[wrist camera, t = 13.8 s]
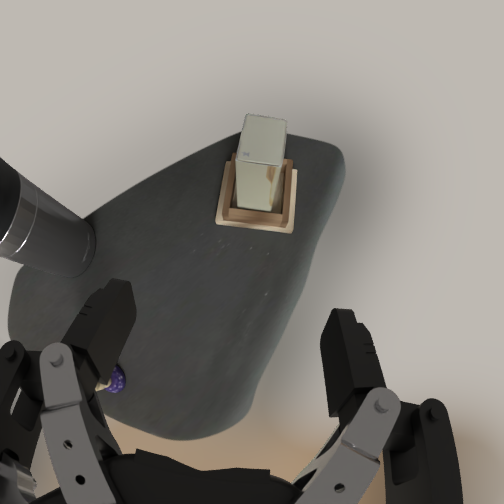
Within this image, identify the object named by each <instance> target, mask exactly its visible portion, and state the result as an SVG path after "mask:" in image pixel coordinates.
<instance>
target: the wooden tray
mask: <svg viewBox="0 0 504 504" xmlns="http://www.w3.org/2000/svg"><path fill="white" fill-rule="evenodd" d="M236 155H237V153H233V154H232V159H231V162H230V161H226V165H225V170H224V176H223V181H222V186H221V192H220V197H219V203H218V209H217V214H216V224H220V225H228V226H237V227H245V228H253V229H261V230H269V231H277V232H285V233H292V231H293V225H294V212H295V197H296V181H297V170H295V169H292V167H293V160H289V159H283V164H282V168H281V171H280V175H279V179H278V184H277V188H276V192H275V196H274V201H273V205H272V209H271V213H267V212H259V211H251V210H242V209H238V208H237V186H236V163H235V159H236Z"/></svg>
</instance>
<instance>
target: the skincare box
mask: <svg viewBox="0 0 504 504" xmlns="http://www.w3.org/2000/svg"><path fill="white" fill-rule="evenodd" d="M286 132H287V120H284V119H278V118H273V117H267V116H261V115H254V114H246V116H245V120H244V124H243V128H242V132H241V136H240V141H239V146H238V150H237V155H236V159H235V163H236V186H237V208H238V209H242V210H251V211H259V212H267V213H271V209H272V205H273V201H274V196H275V192H276V188H277V184H278V179H279V175H280V171H281V168H282V164H283V158H284V152H285V144H286Z"/></svg>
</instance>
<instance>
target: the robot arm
mask: <svg viewBox="0 0 504 504" xmlns="http://www.w3.org/2000/svg"><path fill="white" fill-rule="evenodd" d="M95 246H96V239H95V234H94V231H93V229H92V227H91V226H90V224H89V223H87V222H86V221H85V220H83V219H82V218H80V217H79V216H77V215H76V214H75V213H73V212H72V211H70V210H69V209H67V208H66V207H65V206H63V205H62V204H60V203H59V202H58V201H56V200H55V199H53V198H52V197H51V196H49V195H48V194H46V193H45V192H44V191H42V190H41V189H40V188H38V187H37V186H36V185H34V184H33V183H32V182H30V181H29V180H28V179H26V178H25V177H24V176H22V175H21V174H20V173H18V172H17V171H16V170H15V169H13V168H12V167H11V166H10V165H8V164H7V163H6V162H5V161H4V160H3V159H2V158H0V257H3V258H6V259H9V260H12V261H15V262H18V263H21V264H24V265H27V266H30V267H33V268H36V269H40V270H43V271H46V272H49V273H53V274H56V275H60V276H63V277H67V278H73V277H76V276H78V275H80V274H82V273H83V272H84V271H85V270H86V269H87V267H88V266H89V265H90V263H91V261H92V259H93V256H94V252H95ZM135 320H136V305H135V301H134V296H133V291H132V286H131V283H130V282H129V281H125V280H119V279H114V278H112V279H111V280H110V281H109V282H108V284H107V285H106V287H105V288H104V289H99V290H97V291H96V292H95V293H93V294H92V295H91V296H90V297H89V298H88V300H87V301H86V303H85V304H84V307H82V309H81V310H80V312H79V314H78V315H77V317H76V318H75V320H74V321H73V323H72V324H71V326H70V328H69V329H68V331H67V333H66V334H65V336H64V337H63V339H62V341H61V342H60V343H53V344H50V345H49V346H47V347H46V348H45V349H44V350H43V351H26V350H25V348H24V347H23V345H22V344H21V343H20V342H19V341H15V340H13V341H9V342H7V343H5V344H4V345H3V346H2V348H1V349H0V504H358V502H359V501H360V499H361V498H362V496H363V494H364V493H365V491H366V489H367V488H368V486H369V485H370V483H371V482H372V480H373V478H374V476H375V475H376V473H377V471H378V469H379V467H380V461H379V460H378V457H379V455H380V453H381V451H382V450H383V460H384V472H385V489H386V504H463V494H462V484H461V477H460V469H459V463H458V457H457V452H456V447H455V442H454V437H453V432H452V428H451V424H450V420H449V416H448V412H447V409H446V407H445V406H444V404H443V403H442V402H441V401H439V400H437V399H433V398H430V399H427V400H425V401H424V402H423V403H422V404H421V405H416V404H412V403H407V402H403V401H400V400H399V398H398V397H397V395H396V394H395V393H394V392H393V391H391V390H389V389H387V387H386V384H385V381H384V377H383V373H382V370H381V367H380V363H379V360H378V356H377V354H376V350H375V346H373V344H374V343H373V340H372V337H371V334H370V332H369V331H368V330H367V328H366V327H365V326H364V324H363V323H357V321H356V318H355V315H354V312H353V311H352V310H351V309H338V308H337V309H336V308H334V309H333V310H332V311H331V314H330V316H329V318H328V321H327V323H326V325H325V328H324V330H323V332H322V335H321V339H320V350H321V357H322V363H323V371H324V378H325V386H326V394H327V402H328V410H329V417H339V425H338V426H337V427H336V429H335V430H334V431H333V433H332V434H331V436H330V437H329V439H328V440H327V442H326V443H325V444H324V446H323V447H322V448H321V450H320V451H319V452H318V454H317V455H316V456H315V457H314V459H313V460H312V461H311V462H310V463H309V464H308V465H307V466H306V467H305V468H304V469H303V470H302V471H301V472H300V474H299V475H298V476H297V477H296V478H295V479H294V481H293V482H292V483H290V482H288V481H286V480H284V479H282V478H279V477H276V476H273V475H270V470H266V469H247V468H230V469H220V470H209V471H200V470H197V469H194V468H192V467H189V466H187V465H184V464H182V463H180V462H178V461H176V460H174V459H171V458H169V457H167V456H162V455H158V454H154V453H151V452H147V451H143V450H140V449H136V453H135V454H122V452H121V450H120V448H119V446H118V444H117V442H116V440H115V439H114V437H113V435H112V434H111V432H110V430H109V427H108V425H107V422H106V419H105V417H104V414H103V411H102V408H101V405H100V402H99V399H98V396H97V392H96V390H95V388H96V386H97V383H100V384H103V385H106V386H107V385H108V382H109V380H110V377H111V375H112V373H113V370H114V368H115V365H116V363H117V361H118V358H119V356H120V354H121V352H122V349H123V347H124V345H125V343H126V340H127V338H128V336H129V334H130V332H131V329H132V327H133V325H134V323H135ZM19 388H20V389H21V393H20V395H19V398H18V400H17V402H16V405H15V407H14V410H13V413H12V415H11V414H10V409H11V406H12V403H13V401H14V398H15V396H16V394H17V391H18V389H19ZM42 428H43V432H44V436H45V440H46V444H47V448H48V452H49V455H50V459H51V462H52V465H53V468H54V471H55V474H56V477H57V480H58V483H59V485H60V487H59V488H57V489H55V490H53V491H51V492H49V493H47V494H46V495H43V496H41V497H39V498H37V499H36V497H35V495H34V489H35V488H36V486H37V484H36V481H35V480H34V479H33V477H32V474H31V472H30V467H31V463H32V459H33V456H34V452H35V448H36V445H37V441H38V438H39V435H40V432H41V429H42Z"/></svg>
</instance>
